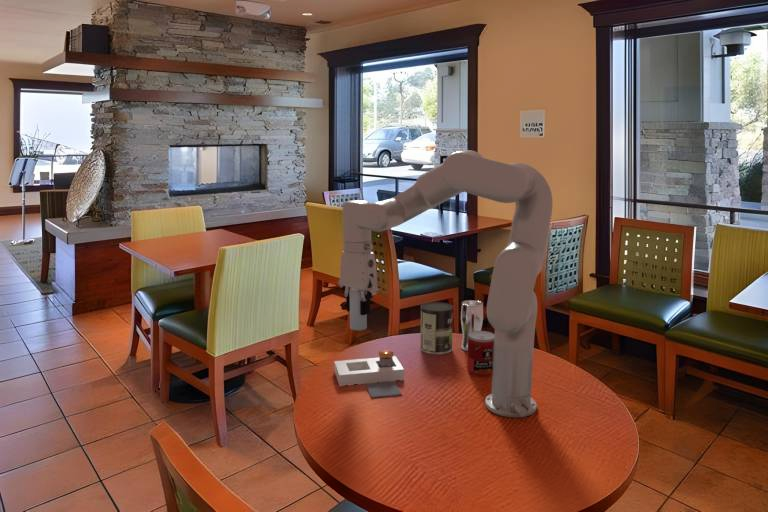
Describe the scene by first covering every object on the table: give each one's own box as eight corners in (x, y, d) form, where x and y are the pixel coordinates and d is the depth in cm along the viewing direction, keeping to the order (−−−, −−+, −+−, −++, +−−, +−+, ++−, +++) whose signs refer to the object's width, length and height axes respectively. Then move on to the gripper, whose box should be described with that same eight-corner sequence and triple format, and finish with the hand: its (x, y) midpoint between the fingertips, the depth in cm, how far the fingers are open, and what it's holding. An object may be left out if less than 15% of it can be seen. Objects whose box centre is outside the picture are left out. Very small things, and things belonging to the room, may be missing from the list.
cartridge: (370, 327, 156) (369, 286, 154) (358, 331, 153) (358, 289, 150) (358, 323, 159) (357, 283, 157) (346, 327, 155) (345, 287, 153)
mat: (401, 395, 147) (401, 393, 147) (371, 398, 146) (371, 396, 146) (394, 382, 155) (394, 381, 155) (365, 385, 153) (365, 384, 153)
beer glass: (455, 346, 182) (457, 301, 179) (473, 343, 185) (475, 299, 182) (467, 353, 176) (469, 307, 173) (486, 350, 179) (488, 304, 176)
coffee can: (453, 344, 184) (454, 302, 181) (450, 356, 174) (451, 312, 171) (422, 342, 186) (422, 300, 183) (417, 353, 176) (418, 310, 173)
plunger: (394, 374, 159) (395, 354, 158) (380, 376, 158) (380, 355, 157) (391, 369, 163) (391, 349, 162) (377, 370, 162) (377, 350, 161)
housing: (404, 380, 157) (404, 369, 156) (339, 386, 153) (339, 375, 152) (395, 366, 166) (395, 356, 166) (334, 371, 162) (334, 361, 162)
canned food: (474, 378, 158) (475, 341, 155) (462, 367, 165) (463, 331, 163) (499, 375, 160) (500, 338, 158) (486, 364, 167) (488, 329, 165)
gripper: (390, 248, 148) (390, 315, 152) (344, 241, 159) (346, 303, 163) (371, 252, 143) (371, 321, 147) (325, 245, 154) (326, 309, 158)
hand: (358, 311), depth 155 cm, fingers closed on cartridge, 4 cm apart
